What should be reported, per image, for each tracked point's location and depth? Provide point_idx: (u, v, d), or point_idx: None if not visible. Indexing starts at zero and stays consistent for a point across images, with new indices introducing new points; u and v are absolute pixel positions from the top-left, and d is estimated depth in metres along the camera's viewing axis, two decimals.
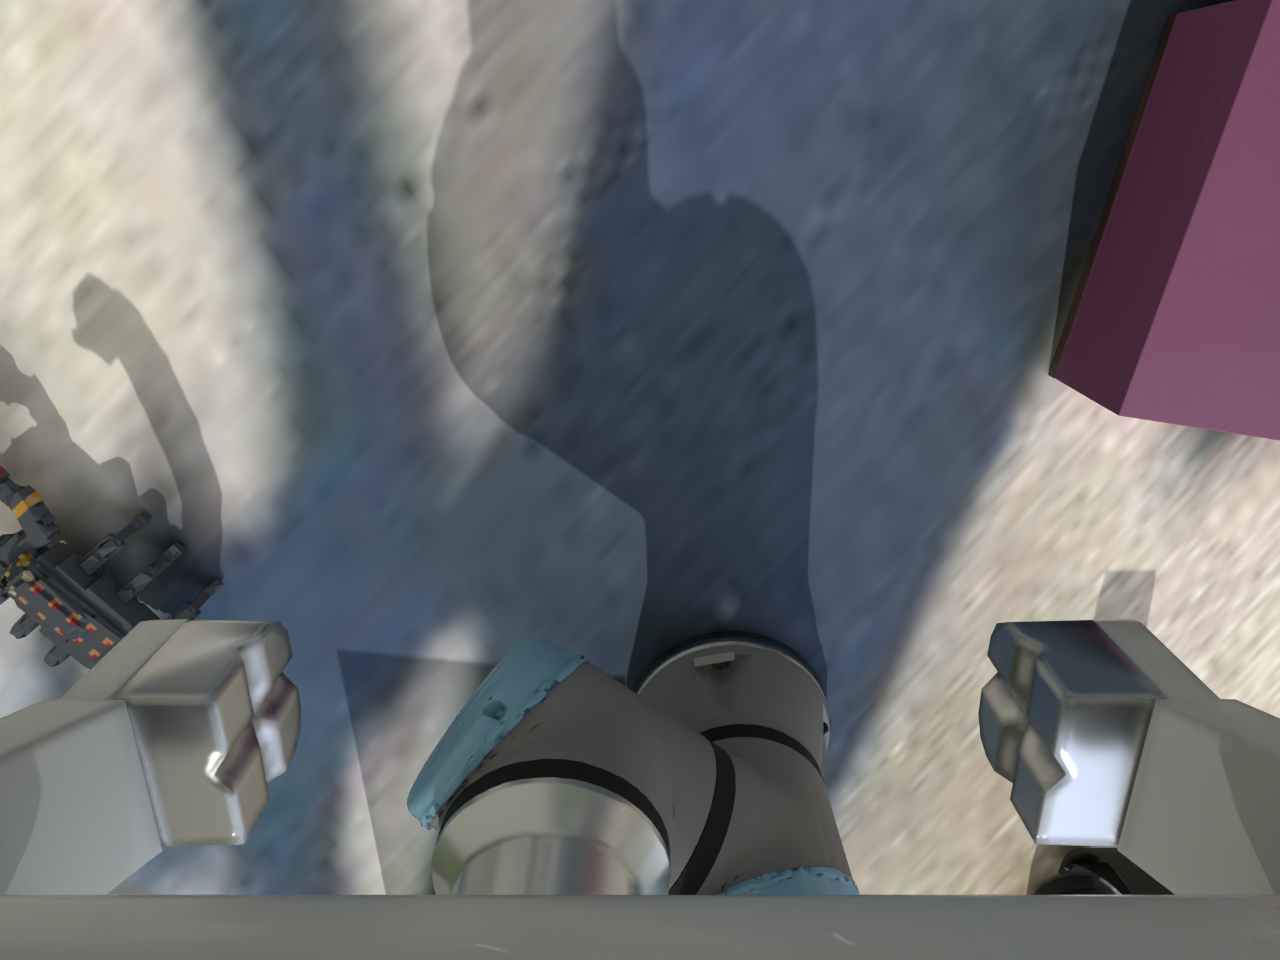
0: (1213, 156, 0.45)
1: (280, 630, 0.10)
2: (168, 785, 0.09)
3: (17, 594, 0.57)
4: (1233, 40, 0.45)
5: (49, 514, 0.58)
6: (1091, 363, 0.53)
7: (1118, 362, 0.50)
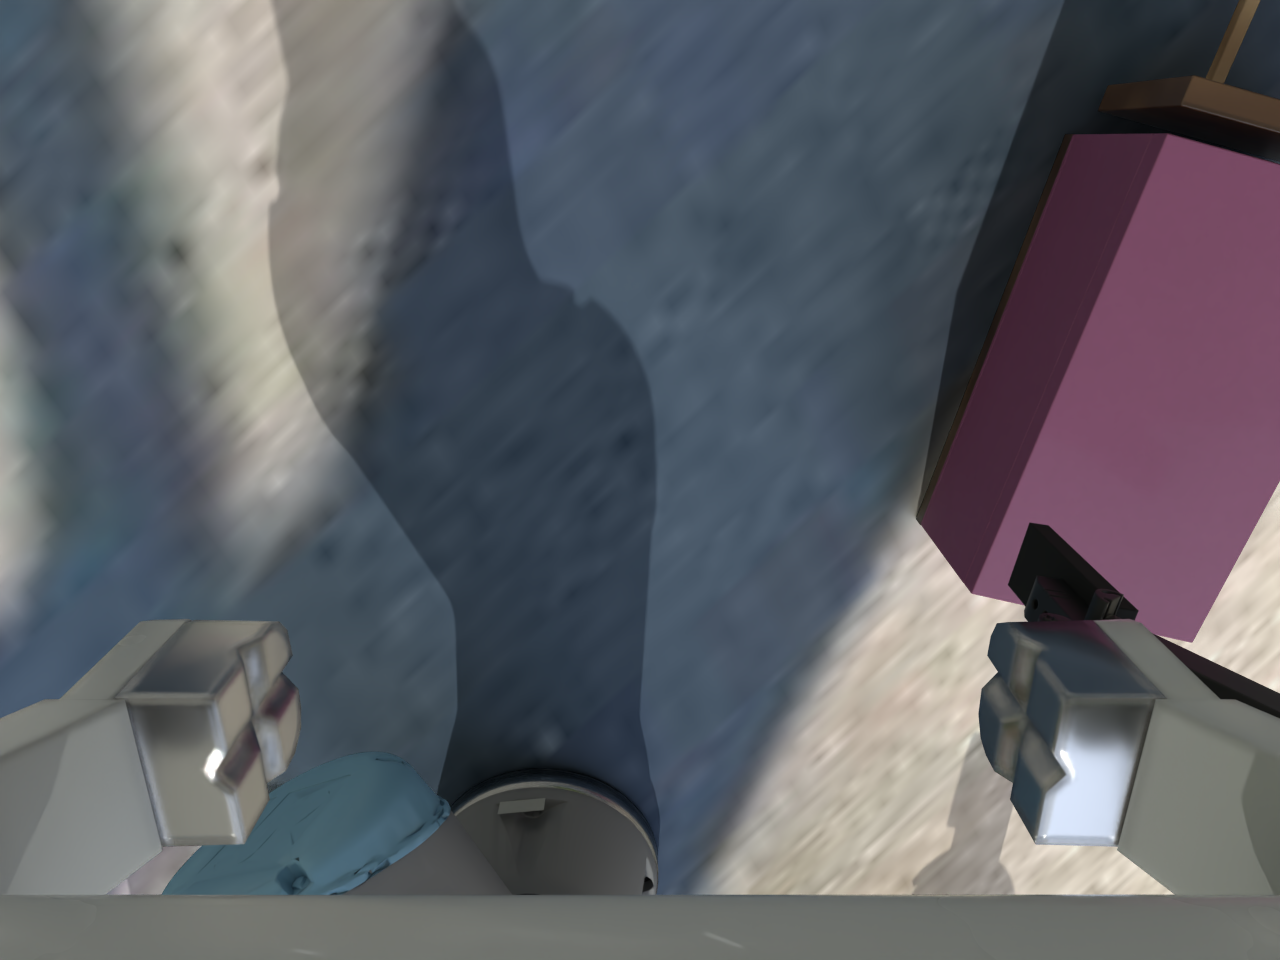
0: (1089, 315, 0.38)
1: (280, 630, 0.10)
2: (168, 785, 0.09)
3: None
4: (1121, 181, 0.38)
5: None
6: (954, 521, 0.46)
7: (978, 530, 0.43)
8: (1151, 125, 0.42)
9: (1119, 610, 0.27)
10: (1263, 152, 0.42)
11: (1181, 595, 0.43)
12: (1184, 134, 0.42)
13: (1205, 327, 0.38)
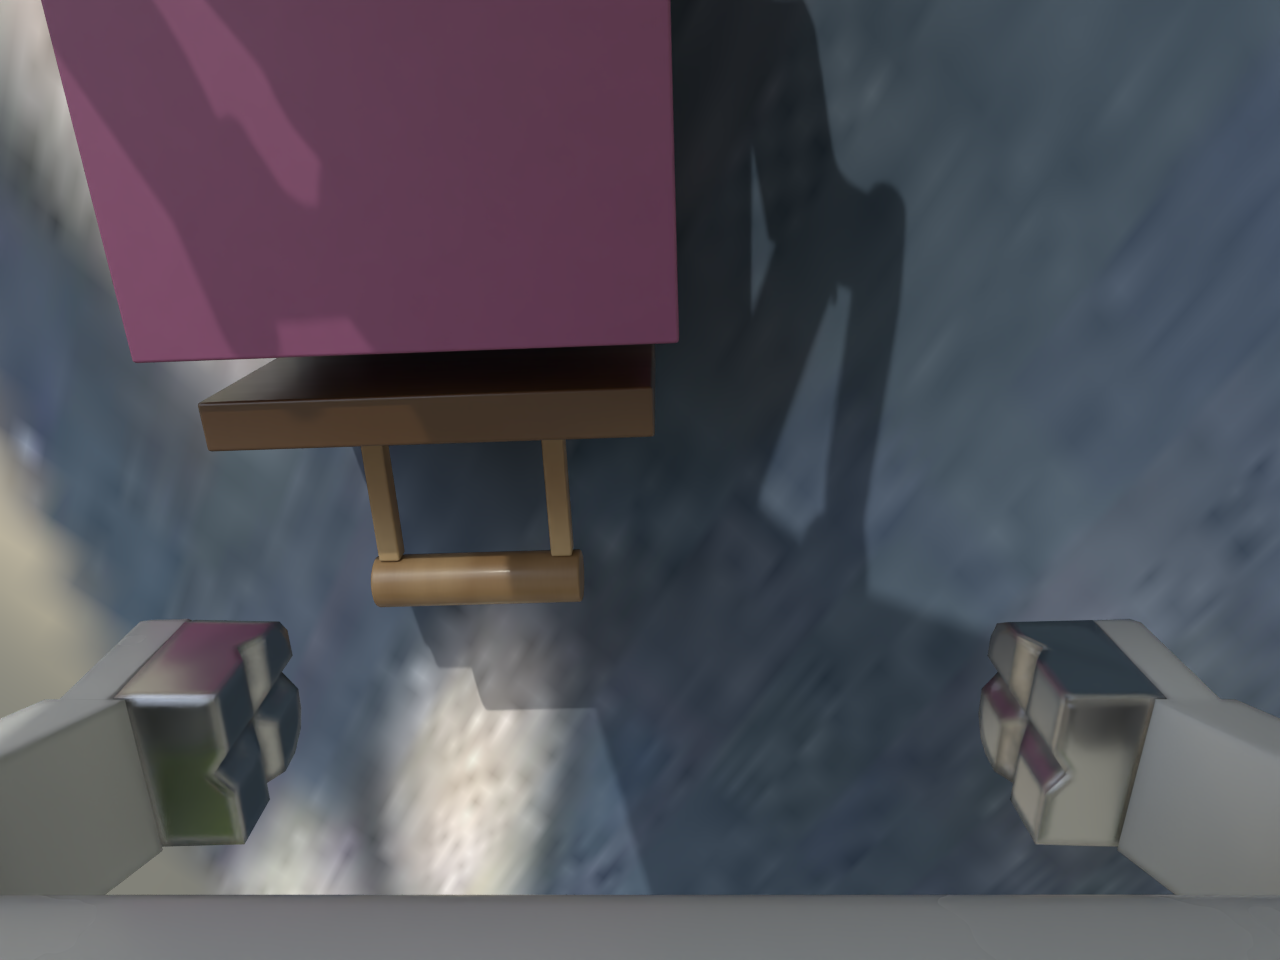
0: None
1: (280, 630, 0.10)
2: (168, 785, 0.09)
3: None
4: None
5: None
6: None
7: None
8: None
9: None
10: None
11: None
12: None
13: None
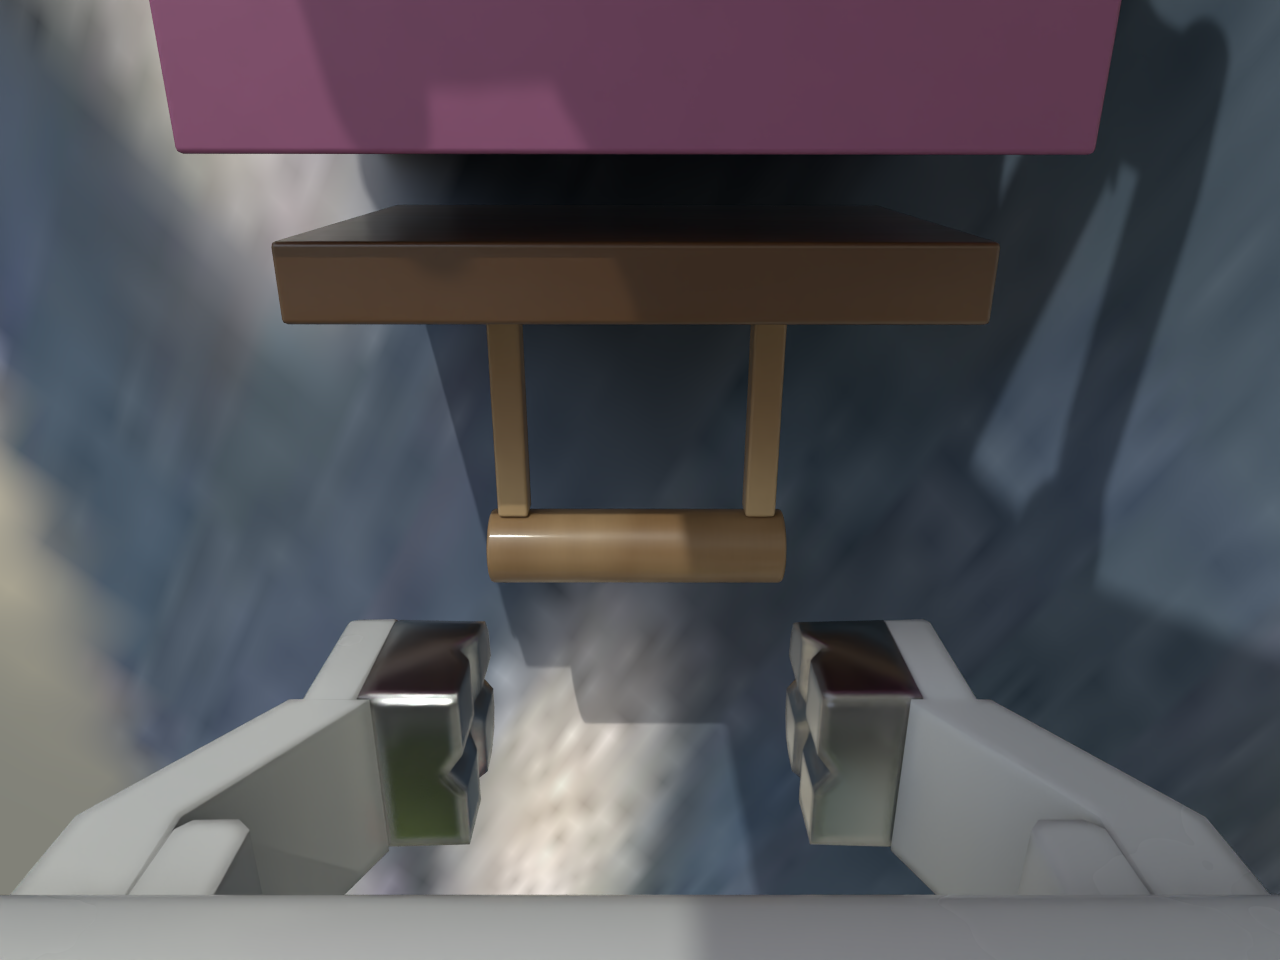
0: None
1: (485, 630, 0.10)
2: (401, 785, 0.09)
3: None
4: None
5: None
6: None
7: None
8: (755, 205, 0.19)
9: None
10: (510, 209, 0.18)
11: None
12: (676, 205, 0.19)
13: None
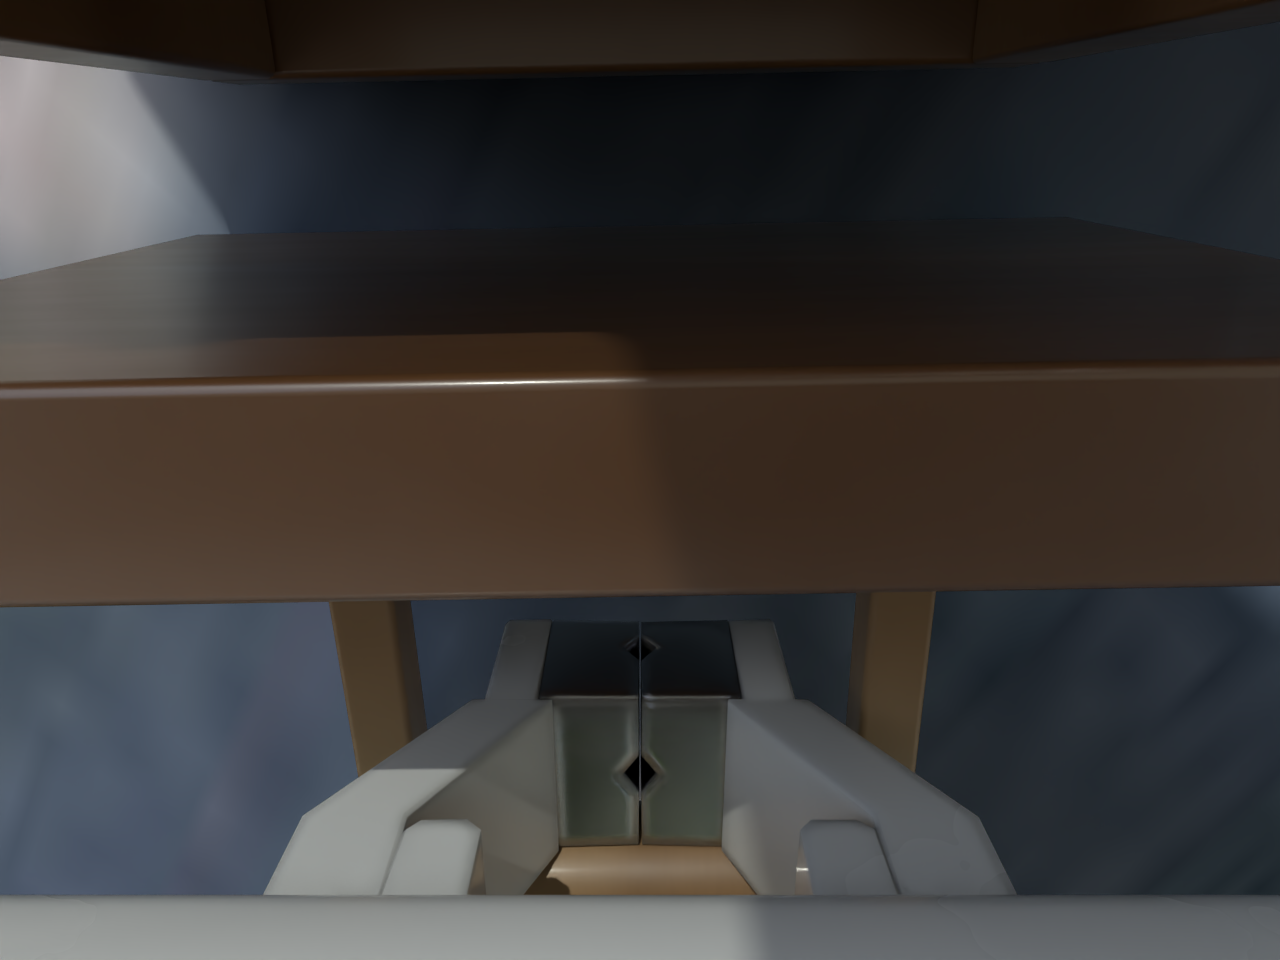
0: None
1: None
2: (575, 785, 0.09)
3: None
4: None
5: None
6: None
7: None
8: (845, 222, 0.10)
9: None
10: (385, 243, 0.09)
11: None
12: (701, 226, 0.10)
13: None
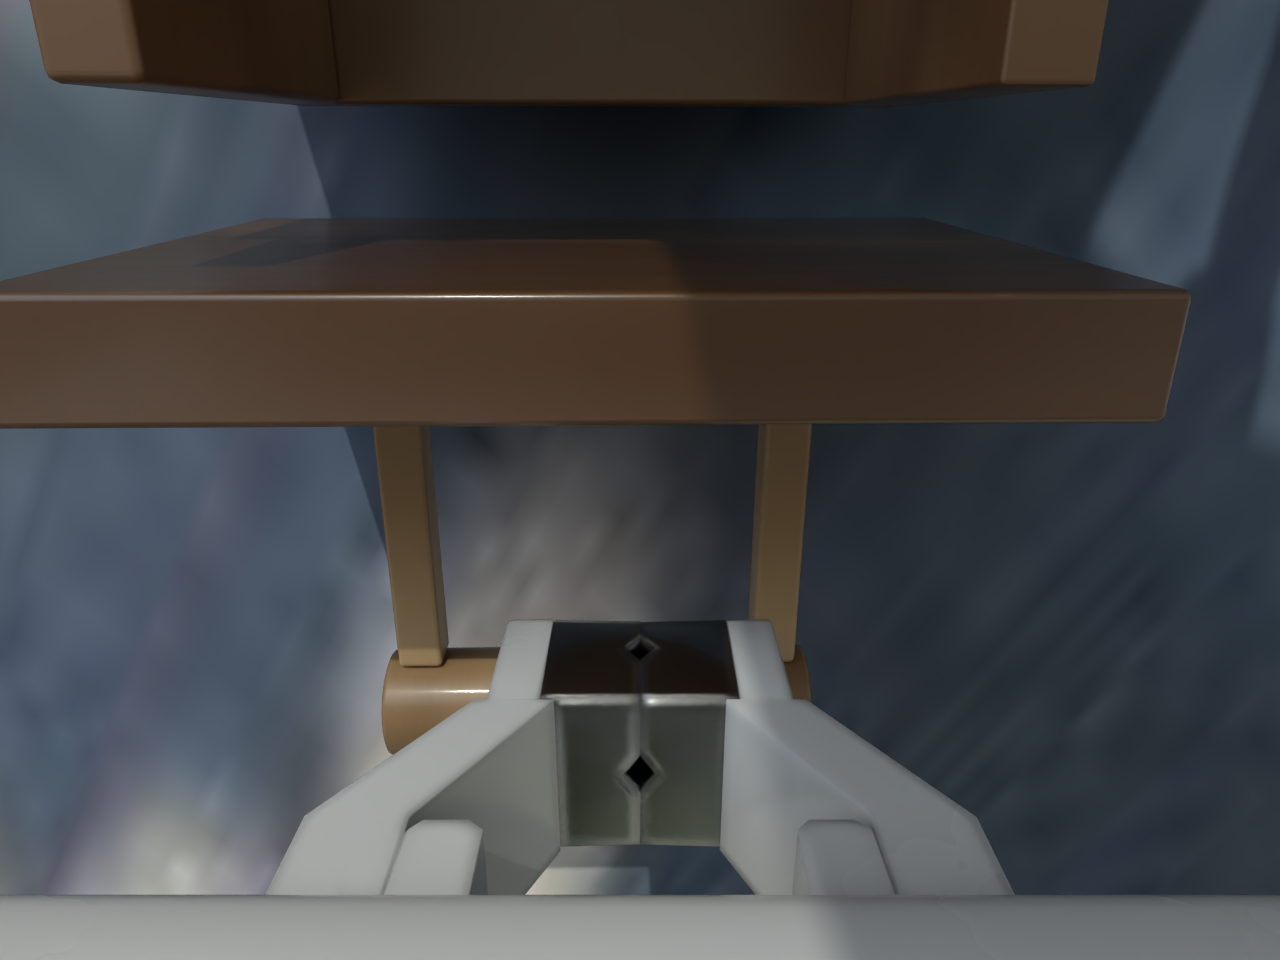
0: None
1: None
2: (576, 785, 0.09)
3: None
4: None
5: None
6: None
7: None
8: (760, 219, 0.14)
9: None
10: (415, 226, 0.13)
11: None
12: (651, 219, 0.14)
13: None
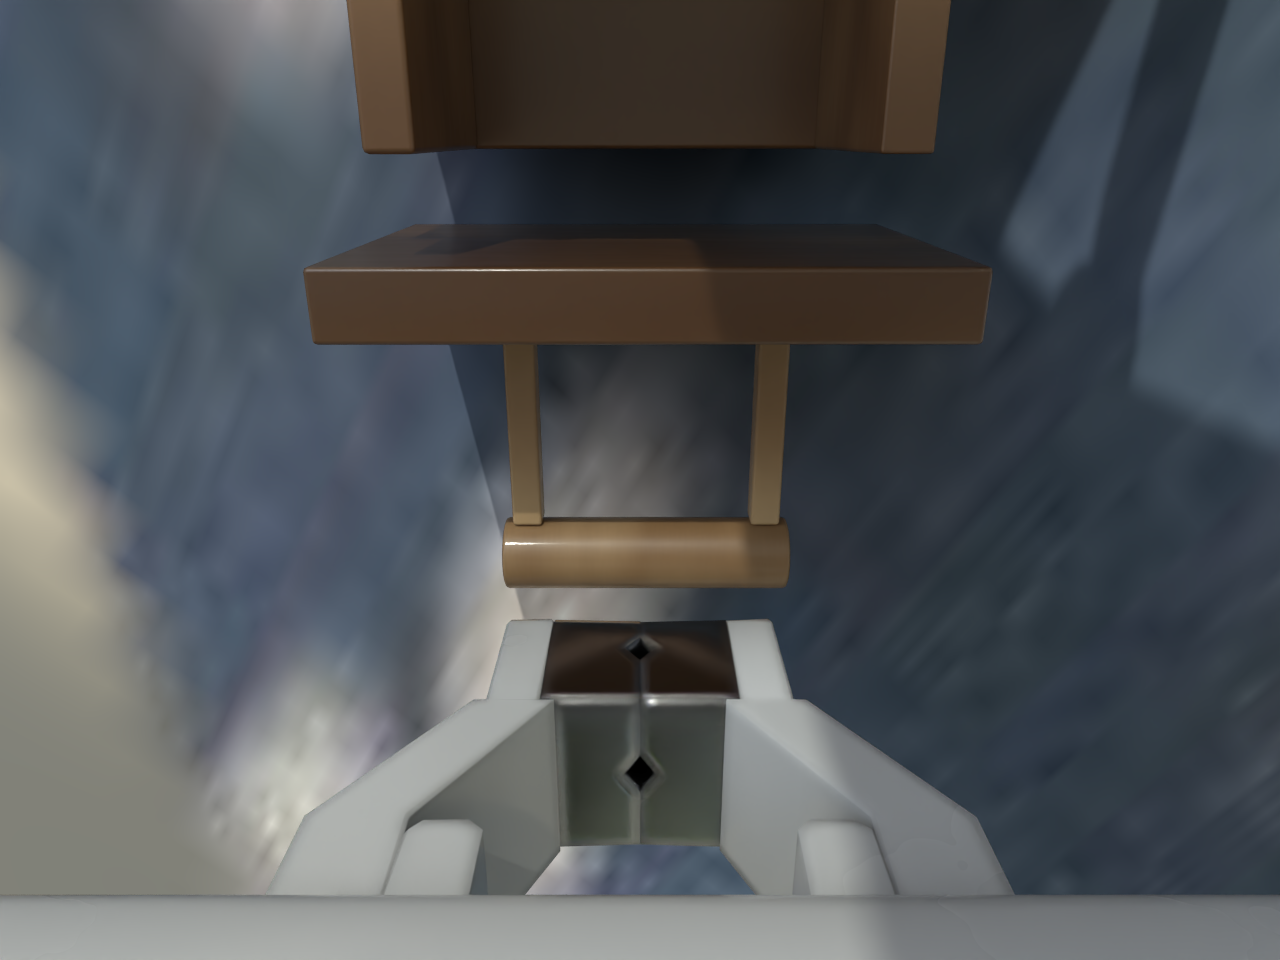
0: None
1: None
2: (576, 785, 0.09)
3: None
4: None
5: None
6: None
7: None
8: (759, 224, 0.20)
9: None
10: (524, 230, 0.19)
11: None
12: (683, 225, 0.20)
13: None
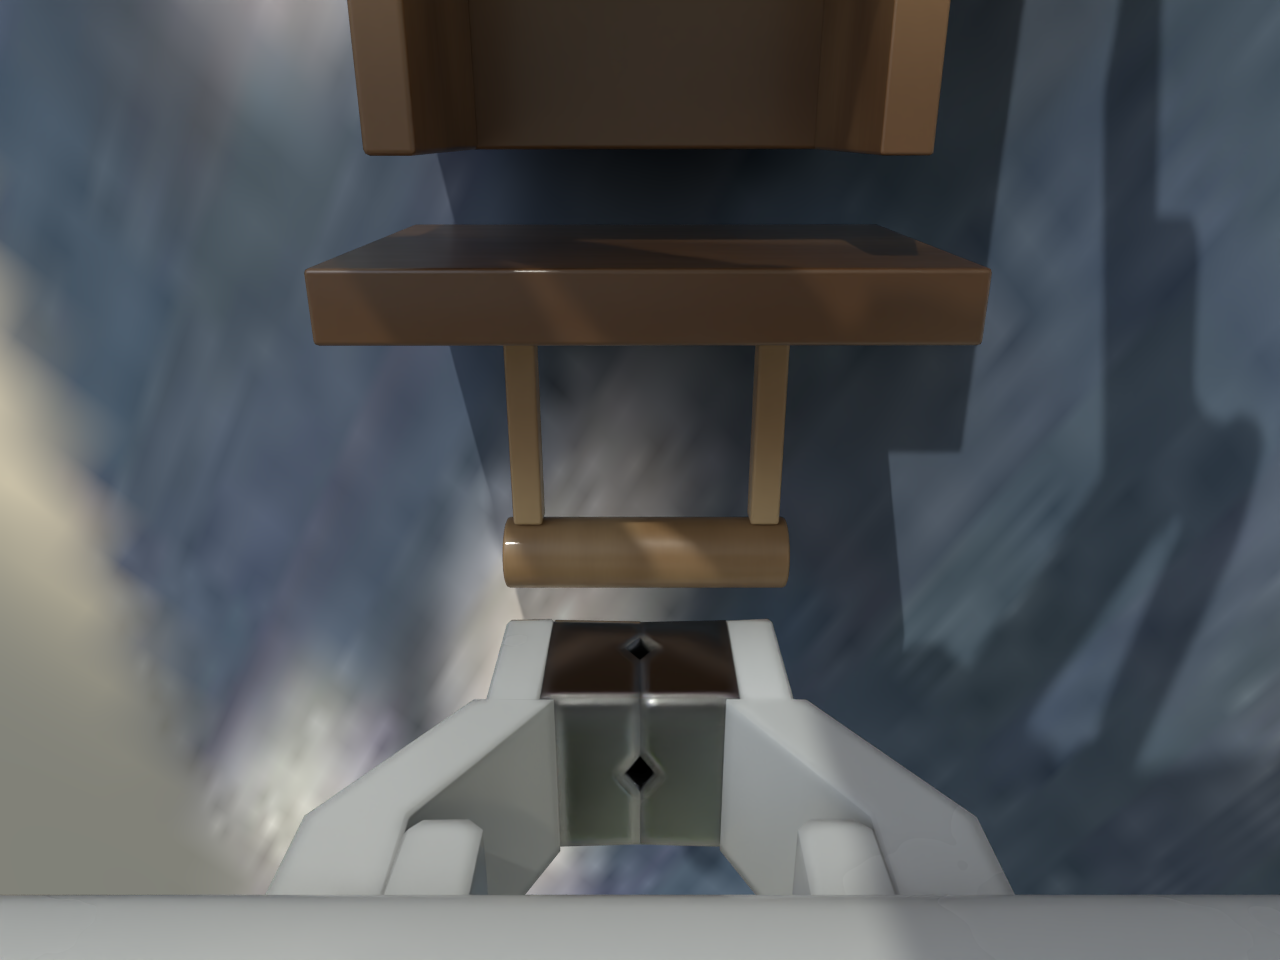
0: None
1: None
2: (576, 785, 0.09)
3: None
4: None
5: None
6: None
7: None
8: (759, 225, 0.20)
9: None
10: (524, 230, 0.19)
11: None
12: (683, 225, 0.20)
13: None
